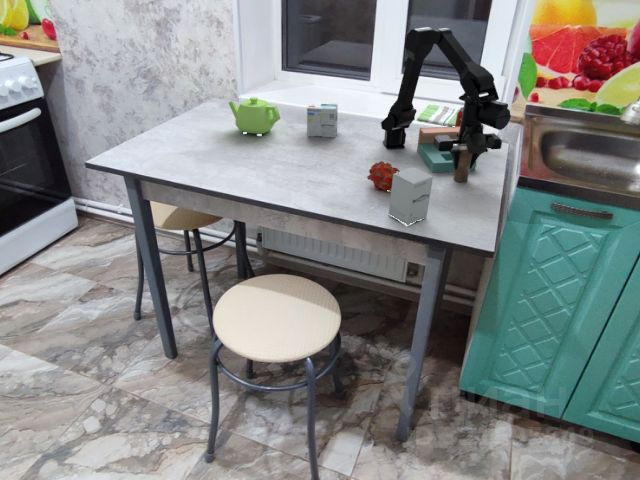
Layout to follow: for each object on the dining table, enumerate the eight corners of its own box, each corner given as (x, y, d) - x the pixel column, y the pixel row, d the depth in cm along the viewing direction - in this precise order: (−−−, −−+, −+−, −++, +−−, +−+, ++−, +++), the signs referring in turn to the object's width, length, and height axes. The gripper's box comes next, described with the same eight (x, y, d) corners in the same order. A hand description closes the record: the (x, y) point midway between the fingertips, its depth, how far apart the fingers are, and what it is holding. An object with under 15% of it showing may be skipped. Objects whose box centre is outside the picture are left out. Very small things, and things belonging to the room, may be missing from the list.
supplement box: (407, 228, 122) (413, 184, 115) (387, 215, 127) (392, 173, 120) (427, 219, 126) (434, 176, 119) (407, 207, 131) (412, 165, 124)
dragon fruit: (367, 185, 145) (400, 202, 140) (357, 179, 138) (391, 197, 132) (380, 160, 144) (414, 176, 139) (371, 152, 136) (406, 169, 131)
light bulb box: (337, 131, 178) (338, 102, 172) (335, 138, 172) (336, 108, 166) (309, 130, 179) (308, 101, 173) (306, 136, 173) (306, 107, 167)
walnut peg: (456, 182, 143) (462, 151, 138) (451, 176, 147) (457, 146, 141) (469, 182, 144) (475, 151, 138) (464, 176, 147) (470, 145, 141)
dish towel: (475, 132, 179) (477, 123, 177) (416, 122, 187) (417, 113, 185) (483, 118, 192) (485, 109, 190) (427, 109, 200) (429, 101, 198)
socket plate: (432, 171, 149) (435, 148, 145) (416, 150, 163) (419, 127, 159) (474, 170, 151) (479, 146, 146) (456, 148, 165) (460, 126, 160)
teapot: (223, 134, 175) (219, 100, 168) (240, 122, 185) (237, 89, 178) (272, 141, 169) (270, 107, 162) (287, 129, 179) (286, 95, 172)
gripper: (449, 130, 127) (441, 182, 136) (516, 127, 129) (503, 179, 137) (436, 116, 136) (429, 165, 145) (498, 113, 138) (487, 163, 147)
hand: (462, 168), depth 143 cm, fingers closed on walnut peg, 4 cm apart
